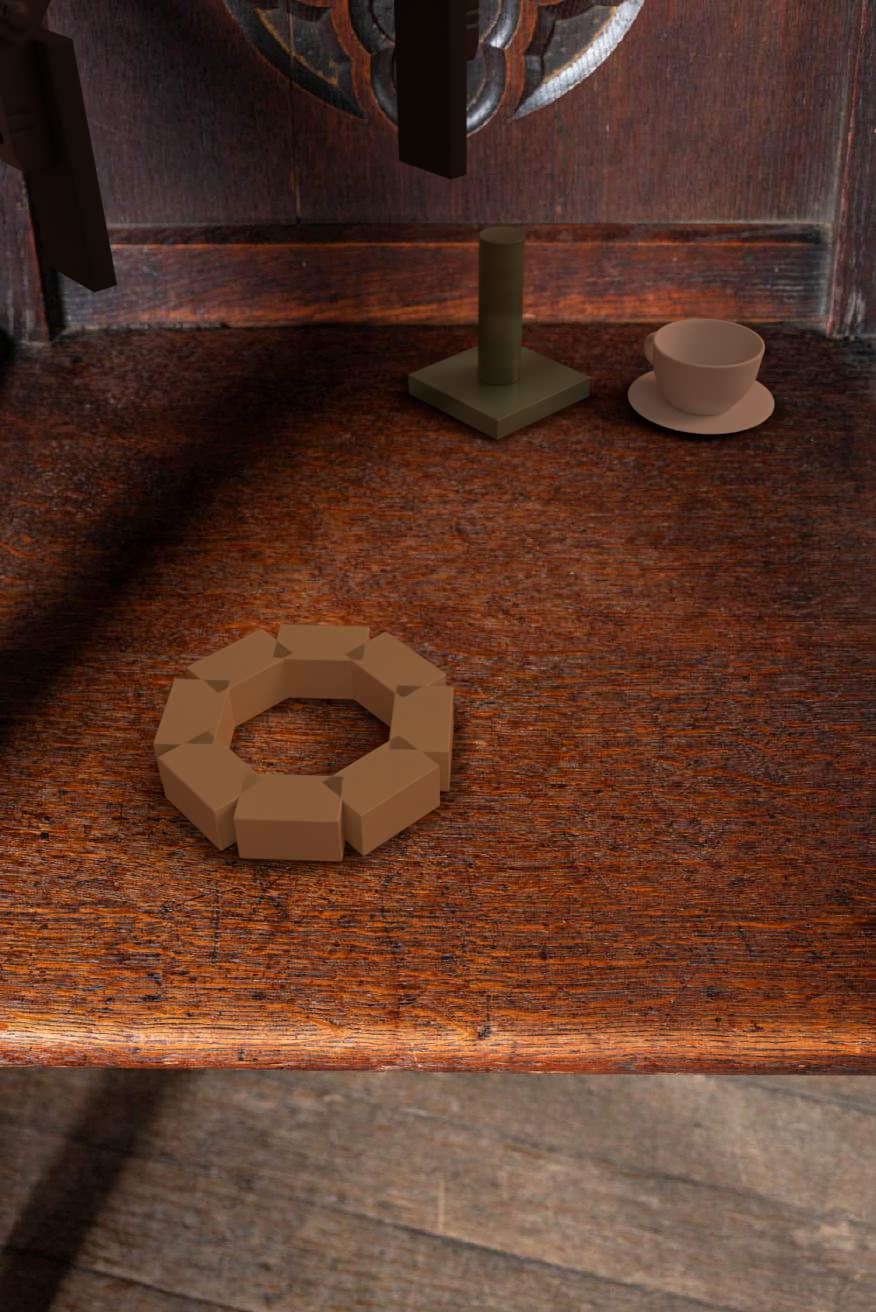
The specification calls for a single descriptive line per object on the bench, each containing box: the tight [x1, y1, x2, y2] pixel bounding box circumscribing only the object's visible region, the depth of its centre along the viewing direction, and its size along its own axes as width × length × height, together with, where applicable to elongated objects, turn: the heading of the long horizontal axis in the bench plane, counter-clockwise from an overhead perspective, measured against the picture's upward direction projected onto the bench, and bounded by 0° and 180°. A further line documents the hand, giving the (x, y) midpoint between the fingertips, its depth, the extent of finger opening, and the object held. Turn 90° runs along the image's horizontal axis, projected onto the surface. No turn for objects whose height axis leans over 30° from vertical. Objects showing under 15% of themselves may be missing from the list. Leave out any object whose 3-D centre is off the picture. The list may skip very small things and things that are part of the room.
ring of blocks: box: [152, 623, 455, 863], centre depth 60 cm, size 14×14×3 cm
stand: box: [407, 225, 591, 441], centre depth 85 cm, size 9×9×12 cm
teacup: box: [627, 318, 775, 435], centre depth 86 cm, size 10×10×5 cm
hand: (272, 218), depth 40 cm, fingers open, 13 cm apart
